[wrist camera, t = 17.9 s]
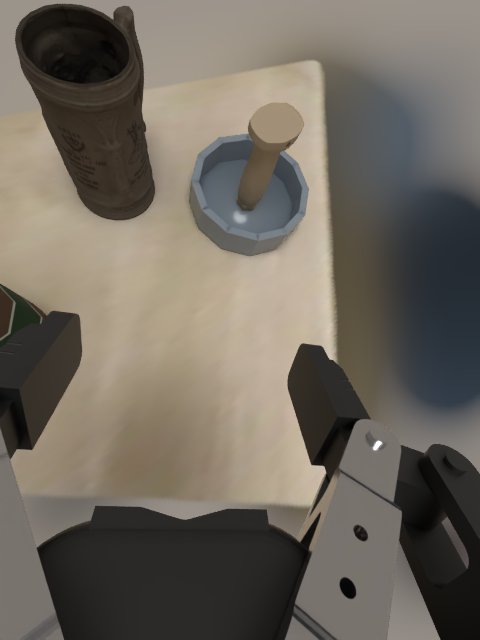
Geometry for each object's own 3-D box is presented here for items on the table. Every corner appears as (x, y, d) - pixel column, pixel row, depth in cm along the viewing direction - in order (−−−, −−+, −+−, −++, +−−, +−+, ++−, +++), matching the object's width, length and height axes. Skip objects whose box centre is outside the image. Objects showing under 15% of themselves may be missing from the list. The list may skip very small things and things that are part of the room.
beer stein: (141, 234, 44) (122, 101, 25) (64, 212, 42) (-18, 52, 23) (169, 155, 49) (170, -4, 30) (101, 132, 47) (58, -51, 29)
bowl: (180, 238, 45) (181, 219, 40) (203, 146, 49) (206, 120, 45) (287, 266, 48) (300, 252, 43) (300, 177, 52) (313, 155, 47)
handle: (220, 199, 47) (242, 115, 32) (252, 182, 49) (286, 96, 34) (239, 224, 46) (268, 150, 32) (270, 206, 48) (311, 129, 34)
